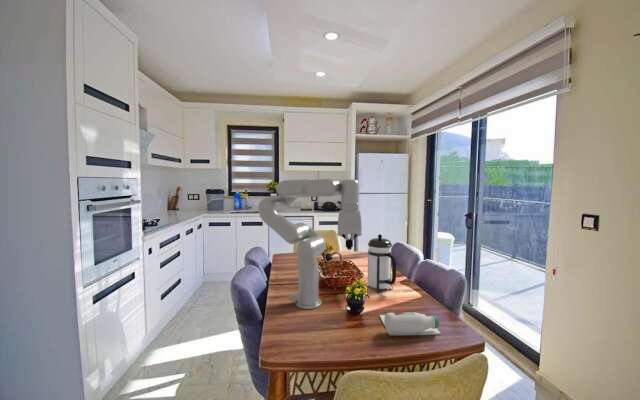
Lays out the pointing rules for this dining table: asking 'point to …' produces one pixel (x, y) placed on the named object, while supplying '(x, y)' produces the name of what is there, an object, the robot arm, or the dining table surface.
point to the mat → (426, 332)
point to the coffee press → (380, 264)
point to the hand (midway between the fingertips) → (349, 248)
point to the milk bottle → (409, 323)
